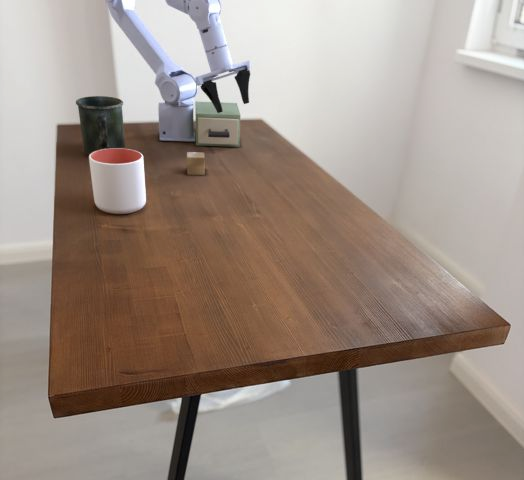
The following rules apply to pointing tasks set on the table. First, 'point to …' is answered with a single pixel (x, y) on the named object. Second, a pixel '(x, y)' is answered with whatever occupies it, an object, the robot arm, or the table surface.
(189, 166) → the block
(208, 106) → the cabinet
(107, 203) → the cup
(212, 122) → the drawer
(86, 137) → the mug
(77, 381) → the table surface
